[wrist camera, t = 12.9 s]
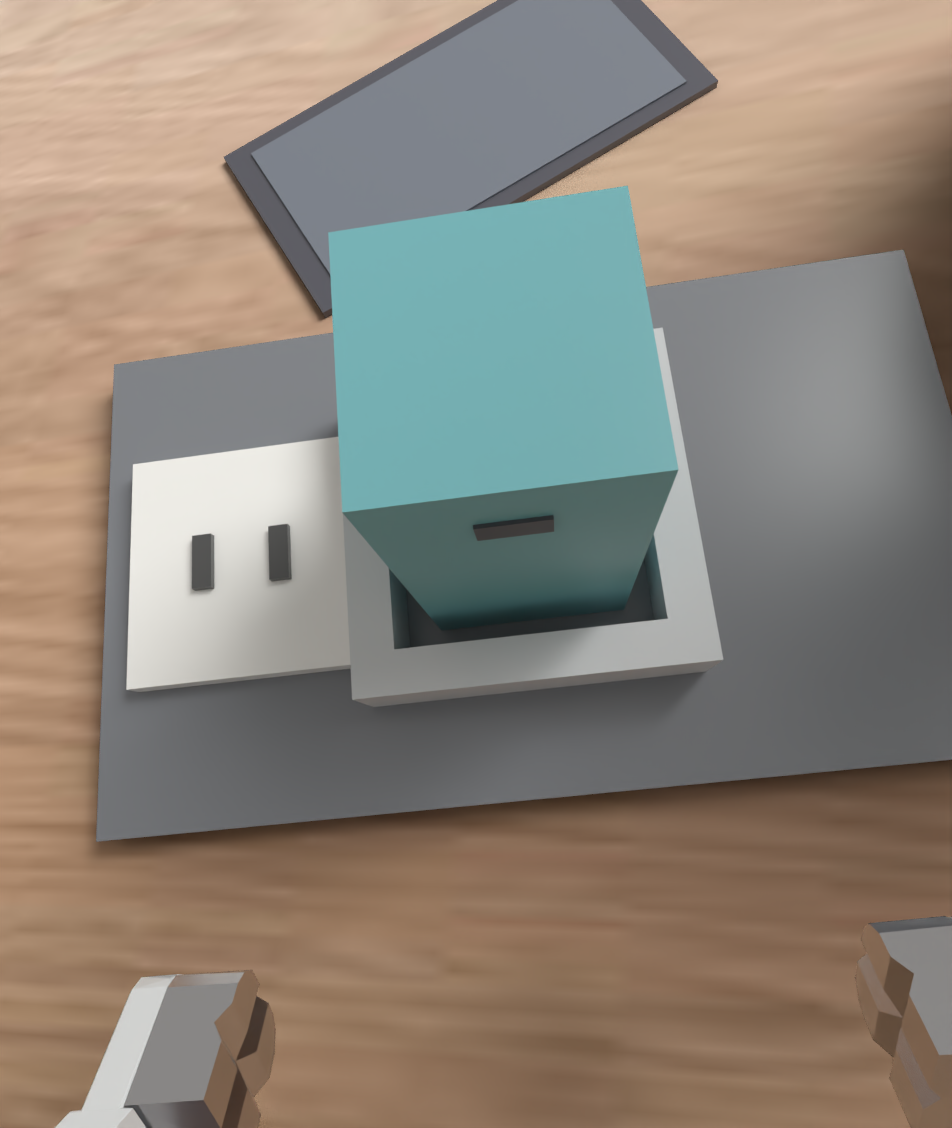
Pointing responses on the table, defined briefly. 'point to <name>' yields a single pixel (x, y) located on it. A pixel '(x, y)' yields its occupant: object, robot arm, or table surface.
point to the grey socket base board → (546, 646)
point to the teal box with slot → (502, 406)
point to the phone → (467, 122)
